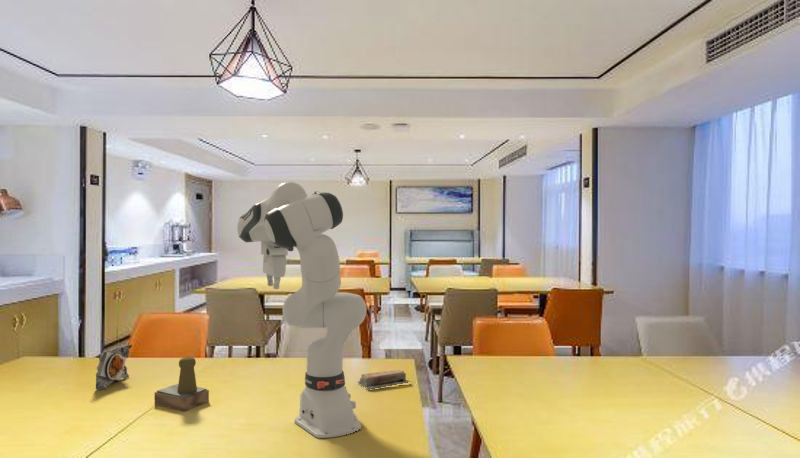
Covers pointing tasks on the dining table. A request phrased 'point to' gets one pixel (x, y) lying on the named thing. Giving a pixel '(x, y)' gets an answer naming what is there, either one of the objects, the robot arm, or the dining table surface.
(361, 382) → the packaged product
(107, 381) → the grey mechanical part
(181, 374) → the brown chess pawn
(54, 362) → the dining table surface
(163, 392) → the walnut riser
